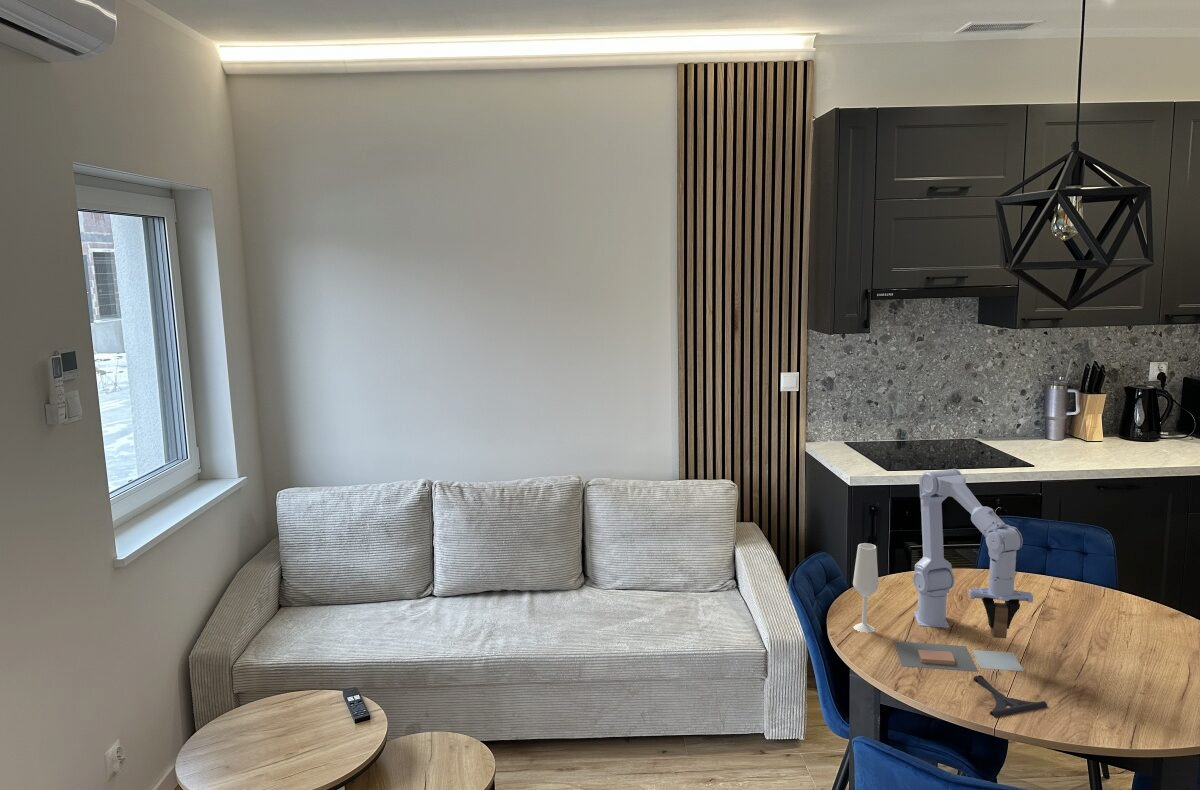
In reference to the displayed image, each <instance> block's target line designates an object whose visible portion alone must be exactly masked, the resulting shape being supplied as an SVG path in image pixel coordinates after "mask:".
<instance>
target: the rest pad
mask: <svg viewBox="0 0 1200 790" xmlns="http://www.w3.org/2000/svg"><path fill="white" fill-rule="evenodd" d="M971 652H972V653H973V656H974V658H975V660H976V662H977V663H978V666H979V667H980V669H984V670H1001V671H1012V672H1014V671H1015V672H1025V671H1024V669H1023V667H1022V666H1021V664H1020V662H1019V660H1018V658H1017V657H1016V655H1015V653H1014V652H1008V651H1007V652H1005V651H993V650H989V651H988V650H979V649H978V650H977V649H971Z"/></svg>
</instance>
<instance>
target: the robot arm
mask: <svg viewBox="0 0 1200 790" xmlns="http://www.w3.org/2000/svg"><path fill="white" fill-rule="evenodd" d="M918 480H919V483H918V484H919V499H920V512H921V535H922V558H920V559H919V561H917V562H916V563H915V564H914V572H913V576H912V583H913V585H914V587H915V589H916V591H917V592H918V593H917V596H918V597H917V608H916V609H917V610H914V611H913V615H914V617H915V619H916V622H917V625H918V626H919V627H931V628H945V629H948V628H950V624H949V623H948V621H947V617H946V615H947V602H948V601H947V599H948V598H947V597H948V594H949V593H950V590H951V589H952V588H953V587H954V586H955V575H954V572H953V567H952V565H953V564H952V563H951V562H949V561H948V560H947V559H946V558H944V557H945V555H944V553H945V552H944V532H943V531H944V530H943V509H942V507H943V505H942V503H943V502H944V501H945V500H946V499H947V498H948V497H951V498H953V499H954V500H955V501H957V503H959V504H960V505H961V506H962V507H963V508H964V509H965V510H966V512H969V514H970V515H971V516H970V521H971V522H972V524H973V525H974V526H975V527H976V528H977V529H978V530H979V532H980V533H982V535H983V537H985V543H986V546H987V549H988V556H989V575H988V587H982V588H969V589H968V597H969V598H970V600H975V599H979V600H980V599H981V601H982V603H983V605H984V608H985V611H986V616H987V620H988V626H989V628H990V629H991V628H993V626H994V612H995V607H996V605H995V604H994V603H995V600H999V601H1003V602H1004V603H1005V604H1006V605H1007V607H1008V621H1007V630H1009V629H1010V626H1011V623H1012V620H1013V619H1014V617H1015V615H1016V613H1017V612H1018V611H1019V609H1020V608H1021V603H1020V602H1028V603H1033V602H1034V594H1033V593H1032V592H1031V591H1021V590H1016V589H1015V576H1016V575H1015V574H1016V564H1017V563H1016V562H1017V559H1016V558H1017V551H1019V550H1020V549H1021V548H1023V547H1022V546H1023V540H1024V539H1023V536H1022V533H1021V532H1020V531H1019V529H1018V528H1017V527H1015V526H1011V525H1010V524H1006V523H1005V522H1004V521H1003V520H1002V519H1001V518H1000V517H999V515H997V514H996V513H995V510H994V509H993V508H992V507H989V506H983V505H982V504H981V503H980V501H979V500H978V499H977V498H976V496H975V495H974V494H973V492H972V491H971V490H970V489H969V487H968V486H967V483H966V482H967V481H966V477H965V475H963V474H962V472H961V471H960V470H959V469H957V468H951V469H944V470H935V471H934V470H933V471H928V470H927V471H924V472H923V473H922V474H921V475H920V476H919V479H918Z"/></svg>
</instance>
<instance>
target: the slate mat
mask: <svg viewBox="0 0 1200 790" xmlns="http://www.w3.org/2000/svg"><path fill="white" fill-rule="evenodd" d="M894 646H895V649H896V652H897V655H898V658H899V659H898V660H899V662H900V665H901V667H909V668H922V669H937V670H949V671H963V672H976V673H978V672H979V670H978V669H977V668H978V667H977V666H976V664H975V662H974V660H973V658H972V656H971V653H970V652H969V650H968V647H967V646H966V645H956V644H955V645H952V644H942V643H941V644H938V643H928V642H927V643H925V642H911V641H910V642H909V641H899V640H898V641H897V640H896V641H895V640H894ZM918 650H931V651H945V652H951V653H952V655H953V657H954V660H955V665H944V664H930V663H921V661H920V658H919V655H918Z"/></svg>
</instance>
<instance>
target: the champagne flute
mask: <svg viewBox="0 0 1200 790" xmlns="http://www.w3.org/2000/svg"><path fill="white" fill-rule="evenodd" d="M878 572H879V570H878V555H877V546H876V545H875V544H872V543H866V542H864V543H859V544H858V545H857V550H856V558H855V565H854V573H853V580H852V586H853V588H854V589H855V591H856V592H857V593H858V594H859V595H860V596H862V611H861V612H862V613H861V614H862V615H861V622H860V623H856V624H855V626H854V625H853V629H854V630H855V631H856V630H857V631H856V632H859V631H860V632H859V633H863V632H866V633H867V634H868V632H870V633H873V632H875V630H874V629H875V627H874V626H872V625H871V624H869V623H867V616H868V615H867V614H868V597H870V596H872V595H873V594H874V593H876V592H877V590H878V589H879V573H878ZM866 633H865V634H866Z"/></svg>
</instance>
